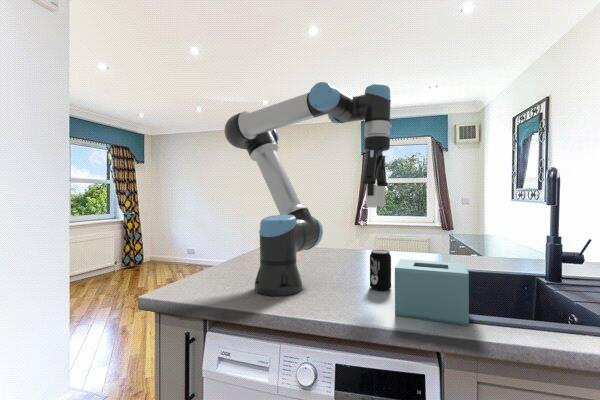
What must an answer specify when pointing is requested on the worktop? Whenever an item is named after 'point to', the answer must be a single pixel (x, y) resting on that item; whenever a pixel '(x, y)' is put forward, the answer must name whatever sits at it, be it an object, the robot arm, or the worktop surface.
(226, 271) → the worktop surface
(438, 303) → the coin box
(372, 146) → the robot arm
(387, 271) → the beverage can
